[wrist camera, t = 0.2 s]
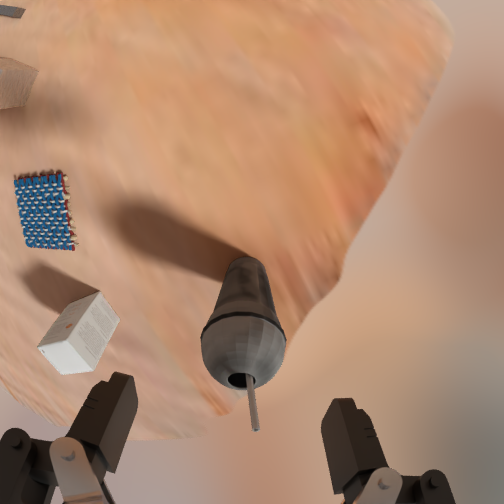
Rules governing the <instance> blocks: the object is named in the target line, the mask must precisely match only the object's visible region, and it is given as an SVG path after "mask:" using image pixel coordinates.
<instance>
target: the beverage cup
mask: <svg viewBox="0 0 504 504" xmlns="http://www.w3.org/2000/svg"><path fill="white" fill-rule="evenodd" d="M200 338H201V350H202V357H203V361H204V364H205V366H206V368H207V370H208V371H209V373H210V374H211V376H212V377H213V378H214V379H215V380H217V381H218V382H219V383H221V384H222V385H224V386H226V387H229V388H231V389H236V390H247V391H248V399H249V407H250V415H251V423H252V431H254V432H257V431H259V430H260V427H259V420H258V414H257V406H256V399H255V391H254V389H255V388H258V387H260V386H262V385H264V384H266V383H267V382H268V381H270V380H271V379H272V378H273V377H274V376H275V374H276V373H277V371H278V370H279V368H280V367H281V365H282V362H283V358H284V352H285V347H286V337H285V334H284V331H283V329H282V328H281V325H280V322H279V320H278V317H277V315H276V311H275V306H274V302H273V298H272V293H271V289H270V285H269V280H268V277H267V274H266V270H265V267H264V266H263V264H262V263H261V262H260V261H258V260H257V259H255V258H252V257H241V258H238V259H236V260H235V261H233V262H232V263H231V264H230V266H229V268H228V271H227V273H226V275H225V278H224V281H223V284H222V287H221V290H220V293H219V296H218V299H217V302H216V305H215V308H214V312H213V314H212V315H211V316H210V318H209V320H208V322H207V324H206V326H205V327H204V328H203V331H202V334H201V337H200Z"/></svg>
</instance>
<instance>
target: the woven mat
mask: <svg viewBox="0 0 504 504" xmlns="http://www.w3.org/2000/svg"><path fill="white" fill-rule="evenodd" d="M39 177H40V178H38V176H35V177H34V176H32V177H31V178H32V179H31V178H30V177H24V179H23V178H20V177H19V178H18V180H19V181H17V180H14V185H15V190H16V191H15V192H14V194H16V197H17V198H18V200H17V203H16V205H18V206H19V207H18V209H19V212H18V213H19V215H20V219H21V222H20V223H21V224H22V228H24V229H23V232H22V234H24V235H25V236H26V237H25V236H24V238H25V239H26V240H25V241H26V245H27V246H28V247H31V248H32V247H33V246H34V248H35V247H37V248H45V249H47V246H48V249H59V248H60V249H61V250H63V249H64V250H68V249H69V250H72V251H74V250H75V247H74V246H79V243H75V242H74V240H77V236H76V234H75V235H74V233H73V232H72V231H76V227H71V225H72V224H73V223H74V220H73V219H70V218H69V215H72V212H71V210H68V207H67V206H70V202H68V199H70V194H69V193H68V194H67V192H66V191H65V190H67V189H70V186H65V185H64V181H66V180H68V177H67V176H66V175H65V176H63V173H60V174H59V172H58V173H57V174H56V176H55V174H51V175H50V174H48V175H47V176H46V175H42V174H41V175H40V176H39ZM35 184H36V185H35ZM18 190H19V191H18ZM22 196H23V197H22ZM31 208H32V209H31ZM47 209H49V210H47ZM60 209H61V210H60ZM25 224H26V225H25ZM70 224H71V225H70ZM59 225H60V226H59ZM45 239H46V240H45Z"/></svg>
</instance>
